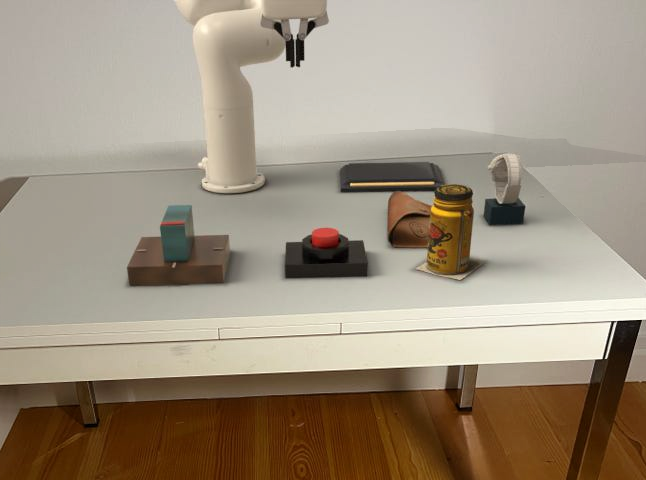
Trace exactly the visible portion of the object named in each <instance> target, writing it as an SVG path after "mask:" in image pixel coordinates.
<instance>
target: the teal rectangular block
mask: <svg viewBox="0 0 646 480" xmlns="http://www.w3.org/2000/svg"><path fill="white" fill-rule="evenodd" d="M193 215H194V214H193V205H192V204H178V205H176V204H175V205H168V206H167V208H166V211H165V213H164V215H163V217H162V220H161V222H160V226H159V232H160V237H161V241H162V250H163V258H164V262H172V261H188V260H189V256H190V253H191V249H192V246H193V242H194V239H195V236H196V235H195V227H194V216H193Z"/></svg>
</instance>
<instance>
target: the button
mask: <svg viewBox="0 0 646 480" xmlns="http://www.w3.org/2000/svg"><path fill="white" fill-rule="evenodd" d="M339 234H340V231H339V230H338V229H336V228H332V227H318V228H315V229H314V230H312V231H311V235H312V244H313V245H315V246H320V247H330V246H335V245H338V244H339Z"/></svg>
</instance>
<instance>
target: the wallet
mask: <svg viewBox="0 0 646 480" xmlns="http://www.w3.org/2000/svg"><path fill="white" fill-rule="evenodd" d="M339 171H340V172H339V175H340V193H364V192H365V193H368V192H369V193H370V192H371V193H372V192H373V193H375V192H395V191H400V192H425V191H427V192H431V191H432V192H433V191H434V192H435V189H436V188H437V187H439V186H442V185H445V180H444V177H443V174H442V172H441V168H440V166H439V165H437V164H435V163H433V162H429V161H400V162H396V161H395V162H394V161H393V162H355V163H354V162H350V163H348V164H344V165H343V166H342V167H340V170H339Z"/></svg>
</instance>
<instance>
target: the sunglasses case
mask: <svg viewBox="0 0 646 480" xmlns="http://www.w3.org/2000/svg"><path fill="white" fill-rule="evenodd" d="M432 206H433V205H431V204H428V203H425V202H423V201H420V200H417V199H415V198H414V197H412V196H411V195H408V194H407V193H405V192H404V191H393V192H392V194H391V195H390V196H389V198H388V202H387V231H386V232H387V241H388V243H389V244H390V245H391V247H393V248H400V249H428V240H429V225H430V211H431V207H432Z"/></svg>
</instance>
